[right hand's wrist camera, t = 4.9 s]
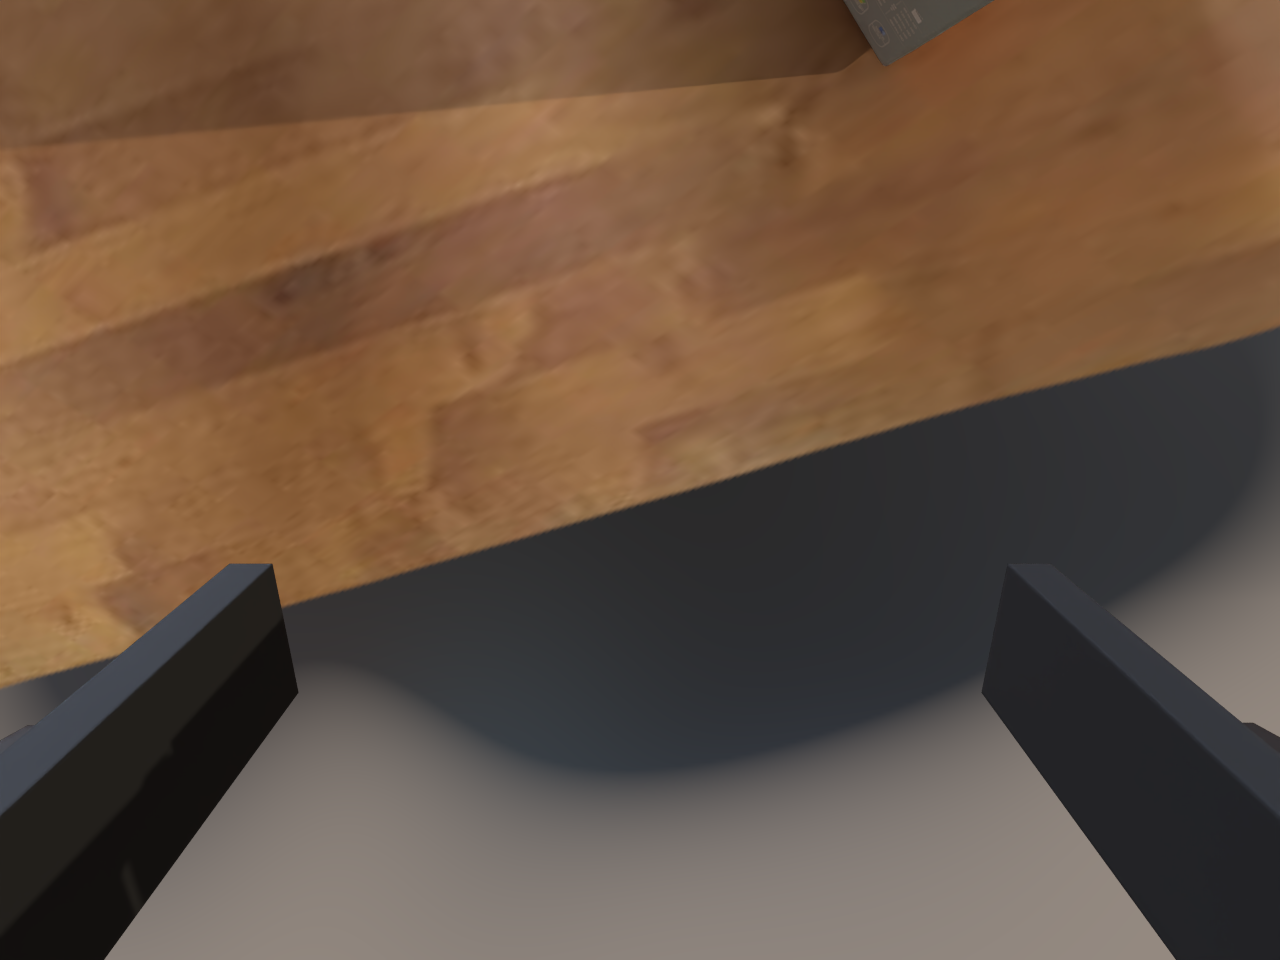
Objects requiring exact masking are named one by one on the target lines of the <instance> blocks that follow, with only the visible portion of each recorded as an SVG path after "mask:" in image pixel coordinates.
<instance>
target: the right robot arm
mask: <svg viewBox="0 0 1280 960" xmlns="http://www.w3.org/2000/svg"><path fill="white" fill-rule="evenodd" d="M297 694H298V688H297V683H296V678H295V673H294V668H293V663H292V658H291V653H290V648H289V644H288V639H287V634H286V629H285V624H284V619H283V614H282V609H281V604H280V599H279V594H278V589H277V584H276V579H275V574H274V569H273V564H229V565H227V566H226V567H225V568H224V569H223V570H221V571H220V572H219V573H218V574H217V575H215V576H214V577H213V578H212V579H211V580H209V581H208V582H207V583H206V584H205V585H203V586H202V587H201V588H200V589H199V590H197V591H196V592H195V593H194V594H193V595H191V596H190V597H189V598H188V599H186V600H185V601H184V602H183V603H182V604H180V605H179V606H178V607H177V608H176V609H174V610H173V611H172V612H171V613H170V614H168V615H167V616H166V617H165V618H164V619H162V620H161V621H160V622H159V623H158V624H156V625H155V626H154V627H153V628H152V629H150V630H149V631H148V632H147V633H146V634H144V635H143V636H142V637H141V638H139V639H138V640H137V641H136V642H135V643H133V644H132V645H131V646H130V647H129V648H127V649H126V650H125V651H124V652H123V653H121V654H120V655H119V656H118V657H117V658H115V659H114V660H113V661H112V662H111V663H109V664H108V665H107V666H106V667H105V668H103V669H102V670H101V671H100V672H99V673H97V674H96V675H95V676H94V677H92V678H91V679H90V680H89V681H88V682H87V683H85V684H84V685H83V686H82V687H80V688H79V689H78V690H77V691H76V692H74V693H73V694H72V695H71V696H70V697H68V698H67V699H66V700H65V701H64V702H62V703H61V704H60V705H59V706H58V707H56V708H55V709H54V710H53V711H52V712H50V713H49V714H48V715H47V716H46V717H44V718H43V719H42V720H41V721H40V722H38V723H37V724H36V725H27V726H25V727H24V728H22V729H20V730H18V731H16V732H15V733H13V734H11V735H9V736H7V737H5V738H4V739H2V740H0V960H104V959H105V958H106V956H107V955H108V954H109V952H110V951H111V949H112V948H113V947H114V945H115V944H116V943H117V941H118V940H119V938H120V937H121V936H122V934H123V933H124V932H125V930H126V929H127V927H128V926H129V925H130V923H131V922H132V921H133V919H134V918H135V916H136V915H137V914H138V912H139V911H140V909H141V908H142V907H143V905H144V904H145V903H146V901H147V900H148V899H149V897H150V896H151V894H152V893H153V892H154V890H155V889H156V888H157V886H158V885H159V883H160V882H161V881H162V879H163V878H164V877H165V875H166V874H167V872H168V871H169V870H170V868H171V867H172V866H173V864H174V863H175V862H176V860H177V859H178V857H179V856H180V855H181V853H182V852H183V850H184V849H185V848H186V846H187V845H188V844H189V842H190V841H191V839H192V838H193V837H194V835H195V834H196V833H197V831H198V830H199V829H200V827H201V826H202V824H203V823H204V822H205V820H206V819H207V818H208V816H209V815H210V813H211V812H212V811H213V809H214V808H215V807H216V805H217V804H218V802H219V801H220V800H221V798H222V797H223V796H224V794H225V793H226V791H227V790H228V789H229V787H230V786H231V785H232V783H233V782H234V780H235V779H236V778H237V776H238V775H239V774H240V772H241V771H242V769H243V768H244V767H245V765H246V764H247V763H248V761H249V760H250V758H251V757H252V756H253V754H254V753H255V752H256V750H257V749H258V747H259V746H260V745H261V743H262V742H263V741H264V739H265V738H266V736H267V735H268V734H269V732H270V731H271V730H272V728H273V727H274V725H275V724H276V723H277V721H278V720H279V719H280V717H281V716H282V714H283V713H284V712H285V710H286V709H287V708H288V706H289V705H290V703H291V702H292V701H293V699H294V698H295V697H296V695H297ZM982 694H983V695H984V697H985V698H986V699H987V701H988V702H989V703H990V705H991V706H992V708H993V709H994V710H995V712H996V713H997V714H998V716H999V717H1000V719H1001V720H1002V721H1003V723H1004V724H1005V725H1006V727H1007V728H1008V730H1009V731H1010V732H1011V734H1012V735H1013V736H1014V738H1015V739H1016V741H1017V742H1018V743H1019V745H1020V746H1021V747H1022V749H1023V750H1024V752H1025V753H1026V754H1027V756H1028V757H1029V758H1030V760H1031V761H1032V763H1033V764H1034V765H1035V767H1036V768H1037V769H1038V771H1039V772H1040V774H1041V775H1042V776H1043V778H1044V779H1045V780H1046V782H1047V783H1048V785H1049V786H1050V787H1051V789H1052V790H1053V791H1054V793H1055V794H1056V796H1057V797H1058V798H1059V800H1060V801H1061V802H1062V804H1063V805H1064V807H1065V808H1066V809H1067V811H1068V812H1069V813H1070V815H1071V816H1072V818H1073V819H1074V820H1075V822H1076V823H1077V824H1078V826H1079V827H1080V829H1081V830H1082V831H1083V833H1084V834H1085V835H1086V837H1087V838H1088V840H1089V841H1090V842H1091V844H1092V845H1093V846H1094V848H1095V849H1096V850H1097V852H1098V853H1099V855H1100V856H1101V857H1102V859H1103V860H1104V862H1105V863H1106V864H1107V866H1108V867H1109V868H1110V870H1111V871H1112V872H1113V874H1114V875H1115V877H1116V878H1117V879H1118V881H1119V882H1120V883H1121V885H1122V886H1123V888H1124V889H1125V890H1126V892H1127V893H1128V894H1129V896H1130V897H1131V899H1132V900H1133V901H1134V903H1135V904H1136V905H1137V907H1138V908H1139V909H1140V911H1141V912H1142V914H1143V915H1144V916H1145V918H1146V919H1147V921H1148V922H1149V923H1150V925H1151V926H1152V927H1153V929H1154V930H1155V932H1156V933H1157V934H1158V936H1159V937H1160V938H1161V940H1162V941H1163V943H1164V944H1165V945H1166V947H1167V948H1168V949H1169V951H1170V952H1171V954H1172V955H1173V956H1174V958H1175V959H1176V960H1280V737H1278V736H1276V735H1275V734H1273V733H1271V732H1269V731H1267V730H1265V729H1264V728H1262V727H1260V726H1258V725H1256V724H1254V723H1242V722H1241V721H1239V720H1238V719H1237V718H1236V717H1235V716H1233V715H1232V714H1231V713H1230V712H1228V711H1227V710H1226V709H1225V708H1224V707H1222V706H1221V705H1220V704H1219V703H1218V702H1216V701H1215V700H1214V699H1213V698H1212V697H1210V696H1209V695H1208V694H1207V693H1206V692H1204V691H1203V690H1202V689H1201V688H1200V687H1198V686H1197V685H1196V684H1195V683H1194V682H1192V681H1191V680H1190V679H1189V678H1187V677H1186V676H1185V675H1184V674H1183V673H1181V672H1180V671H1179V670H1178V669H1177V668H1175V667H1174V666H1173V665H1172V664H1171V663H1169V662H1168V661H1167V660H1166V659H1165V658H1163V657H1162V656H1161V655H1160V654H1159V653H1157V652H1156V651H1155V650H1154V649H1153V648H1151V647H1150V646H1149V645H1148V644H1147V643H1145V642H1144V641H1143V640H1142V639H1141V638H1139V637H1138V636H1137V635H1136V634H1134V633H1133V632H1132V631H1131V630H1130V629H1128V628H1127V627H1126V626H1125V625H1124V624H1122V623H1121V622H1120V621H1119V620H1118V619H1116V618H1115V617H1114V616H1113V615H1112V614H1110V613H1109V612H1108V611H1107V610H1106V609H1104V608H1103V607H1102V606H1101V605H1099V604H1098V603H1097V602H1096V601H1095V600H1093V599H1092V598H1091V597H1090V596H1089V595H1087V594H1086V593H1085V592H1084V591H1083V590H1081V589H1080V588H1079V587H1078V586H1077V585H1075V584H1074V583H1073V582H1072V581H1071V580H1069V579H1068V578H1067V577H1066V576H1065V575H1063V574H1062V573H1061V572H1060V571H1059V570H1057V569H1056V568H1055V567H1054V566H1052V565H1051V564H1008V565H1007V569H1006V574H1005V579H1004V584H1003V589H1002V594H1001V599H1000V604H999V609H998V614H997V619H996V624H995V629H994V634H993V639H992V643H991V648H990V653H989V658H988V663H987V668H986V673H985V678H984V683H983V688H982Z"/></svg>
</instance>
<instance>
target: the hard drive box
mask: <svg viewBox="0 0 1280 960" xmlns="http://www.w3.org/2000/svg"><path fill="white" fill-rule="evenodd" d="M843 1H844V2H845V4H846V5H847V7H848V9H849V10H850V12H851V14H852V15H853V17H854V19H855V21H856V22H857V24H858V26H859V27H860V29H861V31H862V32H863V34H864V36H865V37H866V39H867V40H868V42H869V44H870V45H871V47H872V49H873V50H874V52H875V54H876V55H877V57H878V59H879V60H880V62H881V63H882V65H884V66H887V65H889V64H891V63H893V62H895V61H896V60H898V59H900V58H901V57H903V56H905V55H907V54H908V53H910V52H912V51H913V50H915V49H917V48H918V47H920V46H921V45H923V44H925V43H926V42H928V41H930V40H931V39H933V38H935V37H936V36H938V35H940V34H941V33H943V32H944V31H946V30H947V29H949V28H951V27H952V26H954V25H955V24H957V23H958V22H960V21H962V20H963V19H965V18H966V17H968V16H969V15H971V14H973V13H974V12H976V11H977V10H979V9H981V8H982V7H984V6H986V5H987V4H989V3H990V2H992V1H994V0H843Z"/></svg>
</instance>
